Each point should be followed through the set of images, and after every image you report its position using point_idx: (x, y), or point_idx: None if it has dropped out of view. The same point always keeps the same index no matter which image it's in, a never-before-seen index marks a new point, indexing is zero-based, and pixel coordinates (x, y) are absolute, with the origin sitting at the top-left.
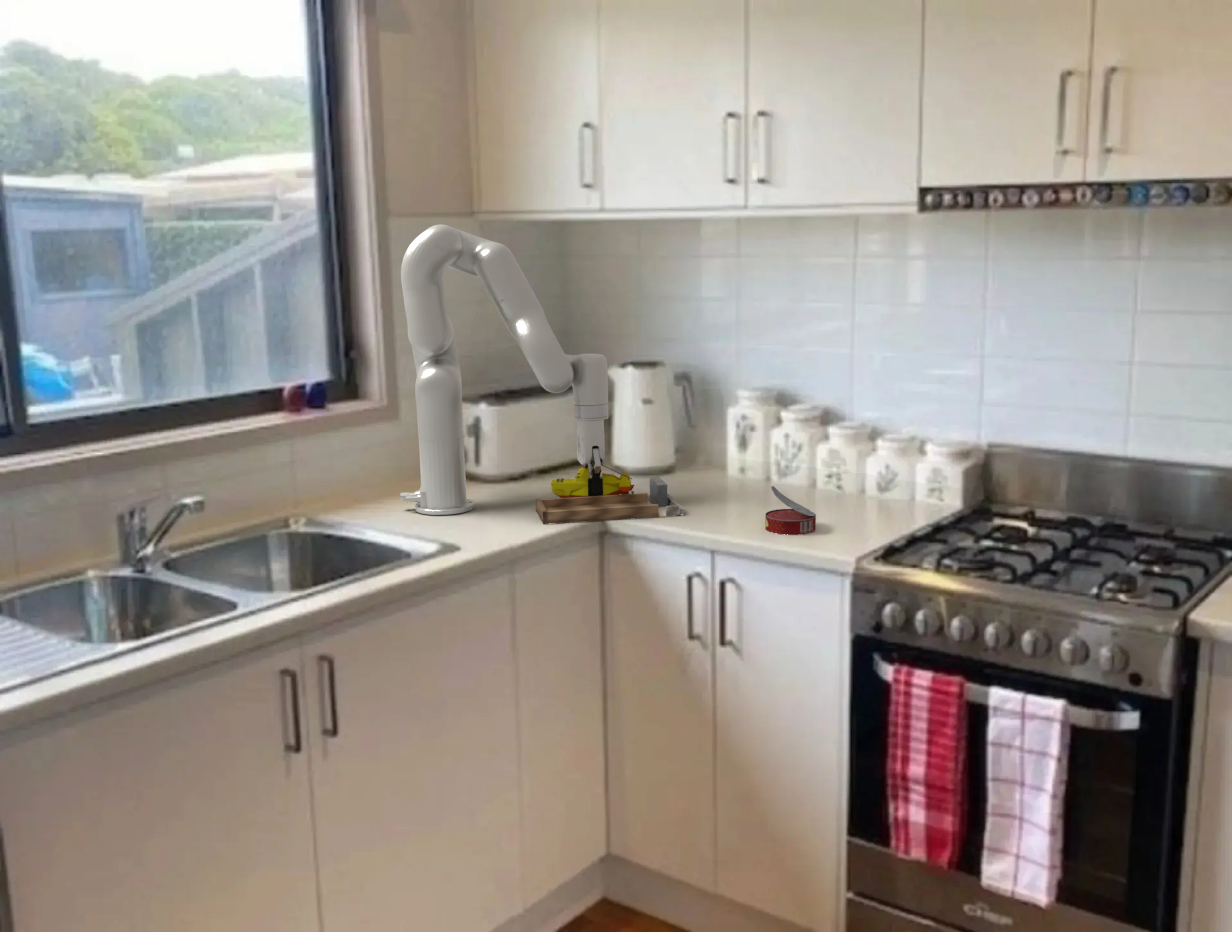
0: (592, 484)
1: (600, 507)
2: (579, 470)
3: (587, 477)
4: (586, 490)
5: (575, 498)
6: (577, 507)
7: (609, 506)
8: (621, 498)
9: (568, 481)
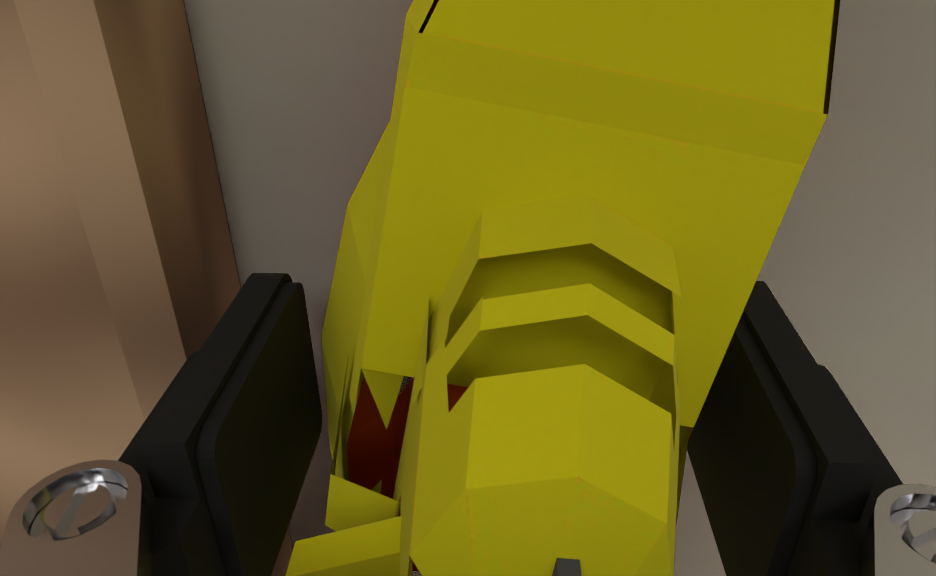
0: (140, 432)
1: (26, 312)
2: (512, 443)
3: (408, 458)
4: (352, 296)
5: (34, 59)
6: (12, 47)
7: (82, 399)
8: None
9: (481, 49)
